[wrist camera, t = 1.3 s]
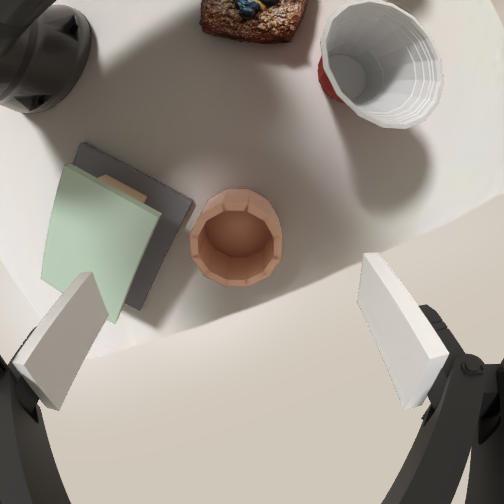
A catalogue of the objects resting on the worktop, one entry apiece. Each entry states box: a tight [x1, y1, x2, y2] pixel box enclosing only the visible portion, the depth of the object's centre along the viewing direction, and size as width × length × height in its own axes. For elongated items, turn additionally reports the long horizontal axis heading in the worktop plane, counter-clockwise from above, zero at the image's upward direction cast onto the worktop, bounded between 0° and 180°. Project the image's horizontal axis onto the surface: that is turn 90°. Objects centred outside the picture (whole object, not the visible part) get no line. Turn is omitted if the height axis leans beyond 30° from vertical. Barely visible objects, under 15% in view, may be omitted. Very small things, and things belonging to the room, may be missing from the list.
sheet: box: [41, 163, 162, 324], centre depth 29 cm, size 12×16×1 cm
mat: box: [73, 142, 193, 310], centre depth 32 cm, size 16×18×5 cm
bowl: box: [189, 188, 283, 287], centre depth 31 cm, size 9×9×6 cm
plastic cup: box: [318, 0, 444, 129], centre depth 21 cm, size 11×11×12 cm
